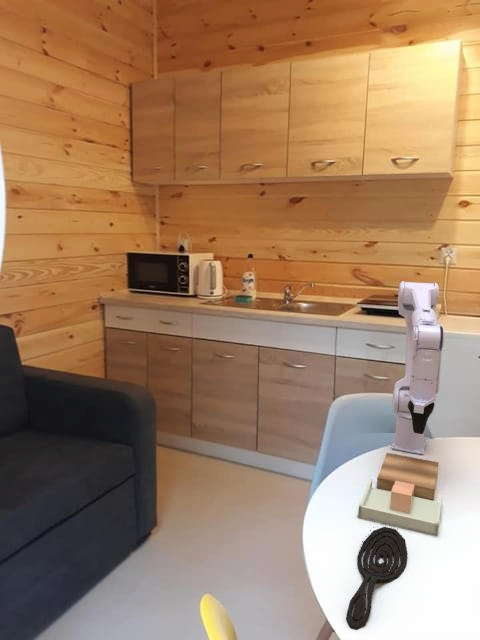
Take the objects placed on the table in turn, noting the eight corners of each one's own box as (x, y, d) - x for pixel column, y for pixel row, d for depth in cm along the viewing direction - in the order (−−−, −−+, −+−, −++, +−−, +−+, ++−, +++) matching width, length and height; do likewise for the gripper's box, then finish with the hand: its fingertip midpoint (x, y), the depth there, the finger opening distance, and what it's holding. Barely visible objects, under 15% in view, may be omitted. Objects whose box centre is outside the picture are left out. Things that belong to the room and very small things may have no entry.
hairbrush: (326, 605, 82) (369, 517, 103) (325, 625, 83) (368, 534, 104) (381, 625, 78) (414, 530, 99) (380, 646, 79) (412, 547, 100)
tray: (369, 488, 121) (369, 478, 120) (441, 504, 115) (442, 493, 115) (357, 517, 110) (358, 506, 109) (437, 536, 104) (438, 524, 103)
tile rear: (394, 493, 118) (395, 480, 118) (413, 497, 117) (414, 484, 116) (391, 502, 115) (392, 489, 114) (411, 506, 113) (412, 493, 113)
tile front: (393, 484, 114) (391, 491, 111) (413, 489, 112) (411, 495, 110) (391, 502, 115) (389, 509, 112) (411, 506, 113) (409, 513, 110)
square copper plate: (385, 463, 133) (386, 452, 133) (437, 474, 129) (438, 462, 128) (376, 490, 121) (377, 477, 120) (433, 502, 116) (434, 489, 115)
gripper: (409, 366, 132) (404, 419, 135) (401, 382, 119) (396, 440, 122) (439, 370, 129) (434, 424, 132) (435, 387, 116) (429, 446, 119)
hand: (418, 432), depth 127 cm, fingers closed
